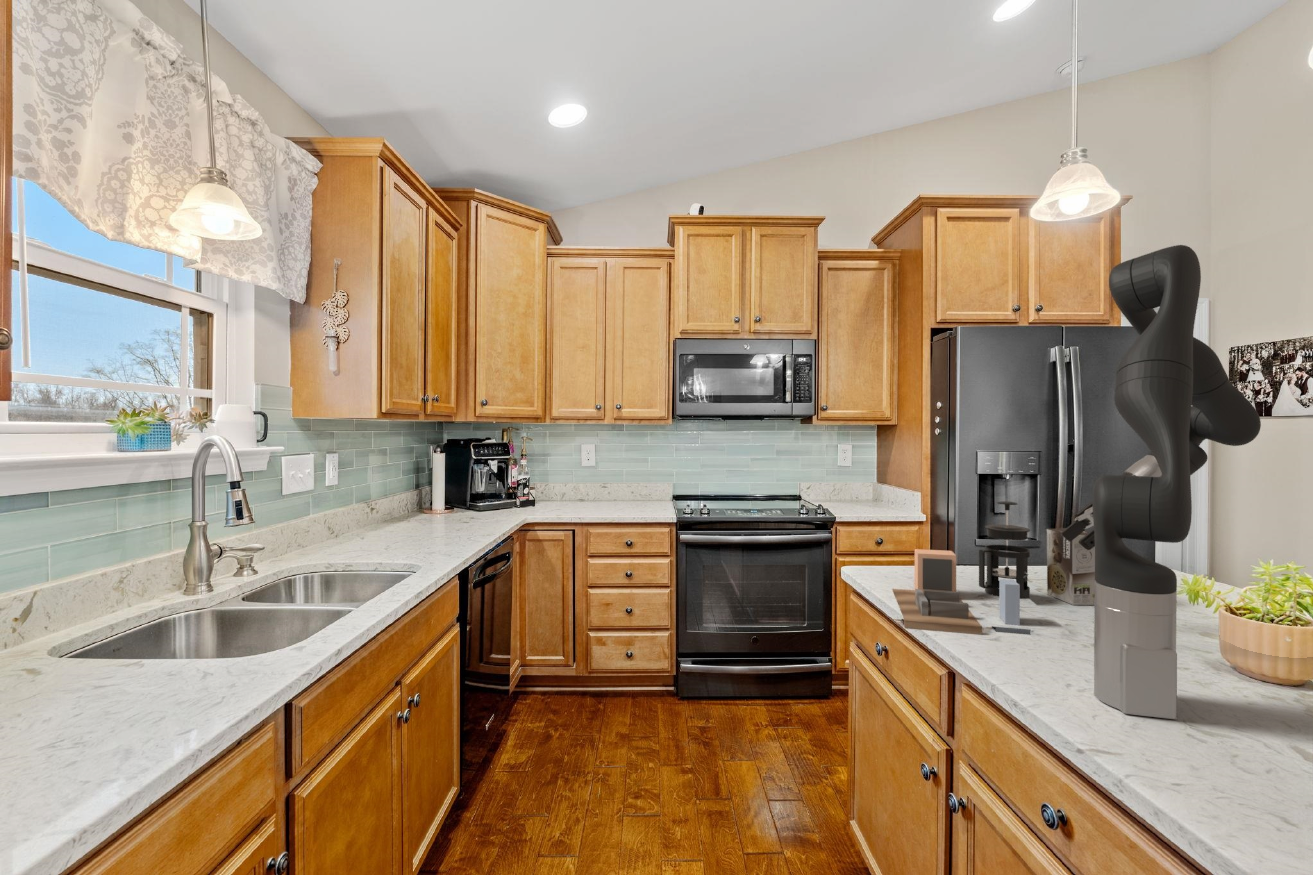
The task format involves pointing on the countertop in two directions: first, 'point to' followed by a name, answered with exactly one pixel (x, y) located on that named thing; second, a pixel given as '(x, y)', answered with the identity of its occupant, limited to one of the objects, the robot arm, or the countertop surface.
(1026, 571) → the french press
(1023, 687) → the countertop surface
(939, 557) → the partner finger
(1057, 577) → the coffee box
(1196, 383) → the robot arm
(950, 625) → the rail
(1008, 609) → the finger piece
